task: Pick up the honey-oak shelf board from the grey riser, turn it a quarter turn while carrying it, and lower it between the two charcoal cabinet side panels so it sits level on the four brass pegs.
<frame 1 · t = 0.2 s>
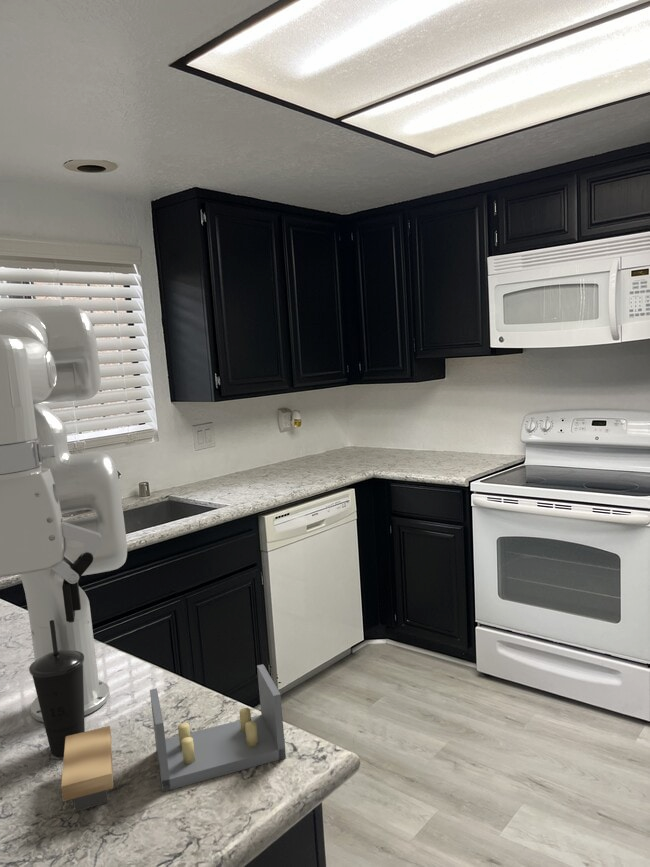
hand: (20, 627, 66), 31 cm above the countertop, fingers open, 9 cm apart
cabinet stand: (219, 754, 94), on the countertop
drinking cup: (68, 748, 98), on the countertop
shelf board: (89, 767, 88), point 3 cm above the countertop, touching riser
riser: (91, 788, 88), on the countertop
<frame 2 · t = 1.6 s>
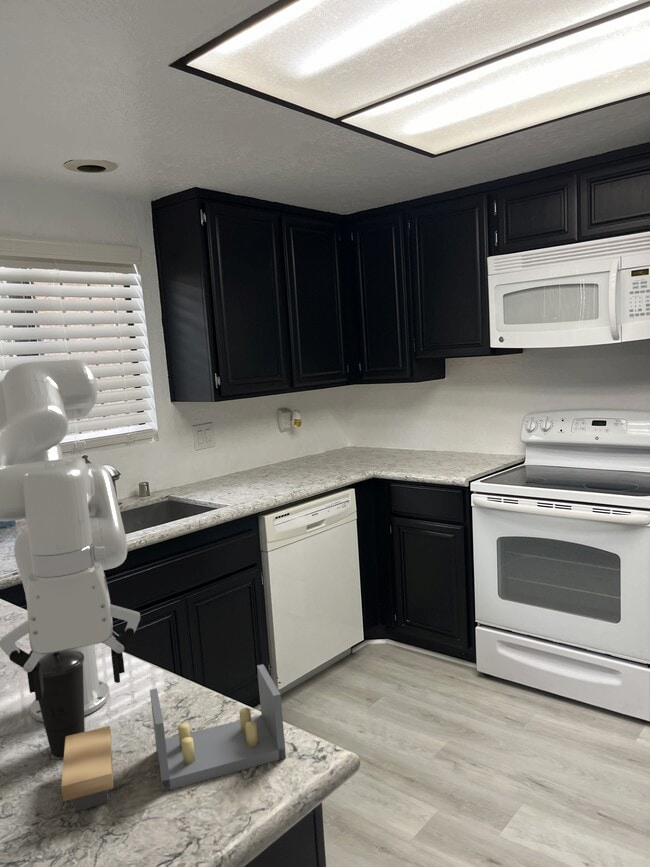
hand: (79, 687, 86), 15 cm above the countertop, fingers open, 9 cm apart
nothing on the countertop moved.
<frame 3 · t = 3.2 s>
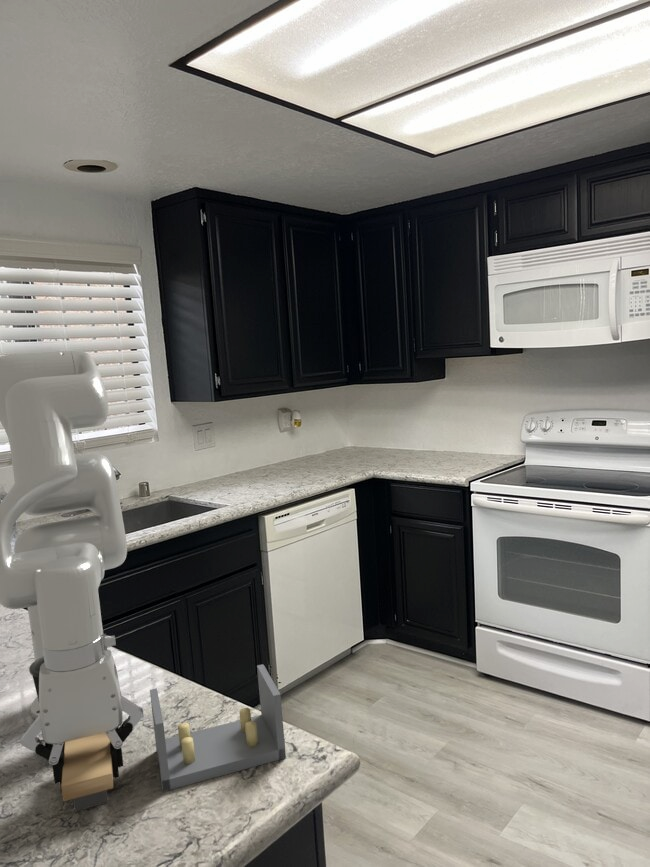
hand: (90, 777, 88), 2 cm above the countertop, fingers closed on shelf board, 6 cm apart
shelf board: (89, 767, 88), point 3 cm above the countertop, touching gripper, riser
everything else where it was.
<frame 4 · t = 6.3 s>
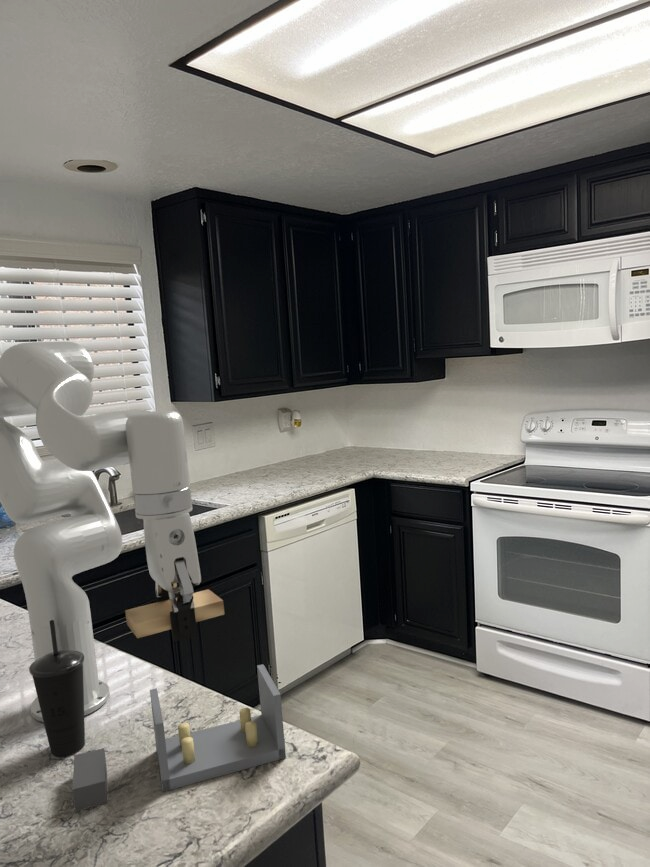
hand: (177, 628, 90), 20 cm above the countertop, fingers closed on shelf board, 6 cm apart
shelf board: (175, 619, 90), point 21 cm above the countertop, touching gripper
everything else where it was.
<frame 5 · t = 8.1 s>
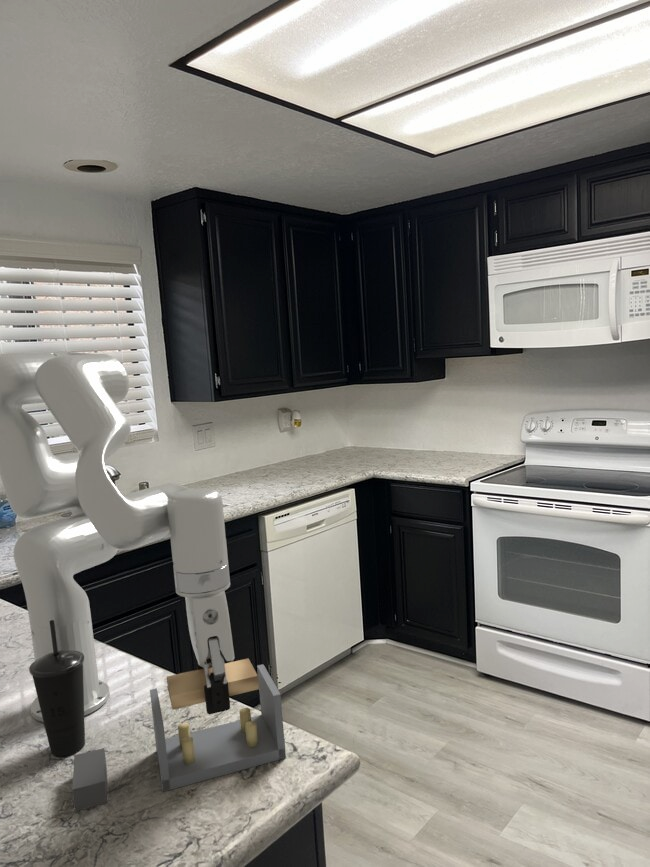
hand: (214, 698, 93), 8 cm above the countertop, fingers closed on shelf board, 6 cm apart
shelf board: (213, 689, 93), point 10 cm above the countertop, touching gripper
everything else where it was.
when the fingers open (4 cm above the countertop, at t = 9.5 s): shelf board stays where it is, resting on cabinet stand.
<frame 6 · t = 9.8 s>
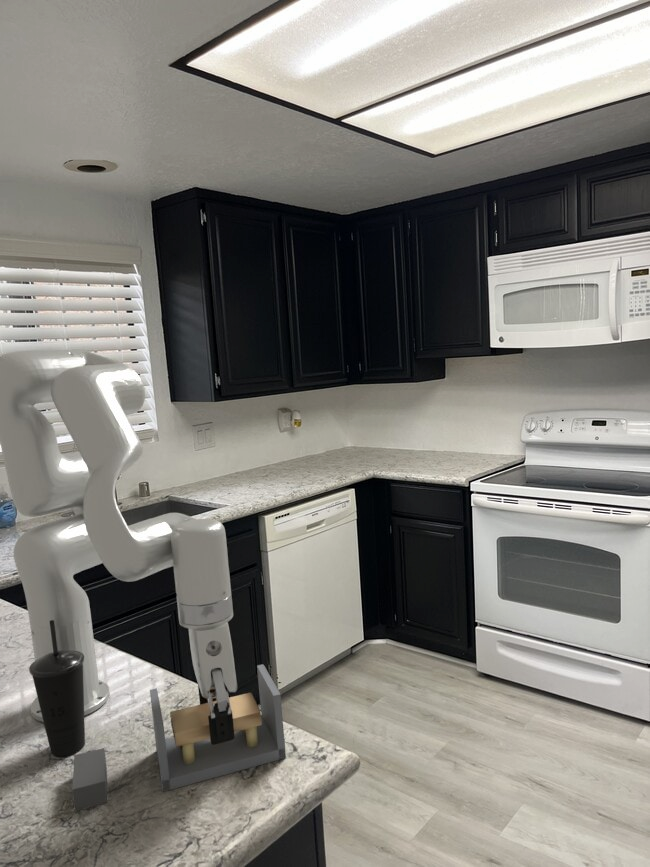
hand: (216, 723, 93), 5 cm above the countertop, fingers open, 9 cm apart
shelf board: (216, 724, 93), point 4 cm above the countertop, touching cabinet stand
everything else where it was.
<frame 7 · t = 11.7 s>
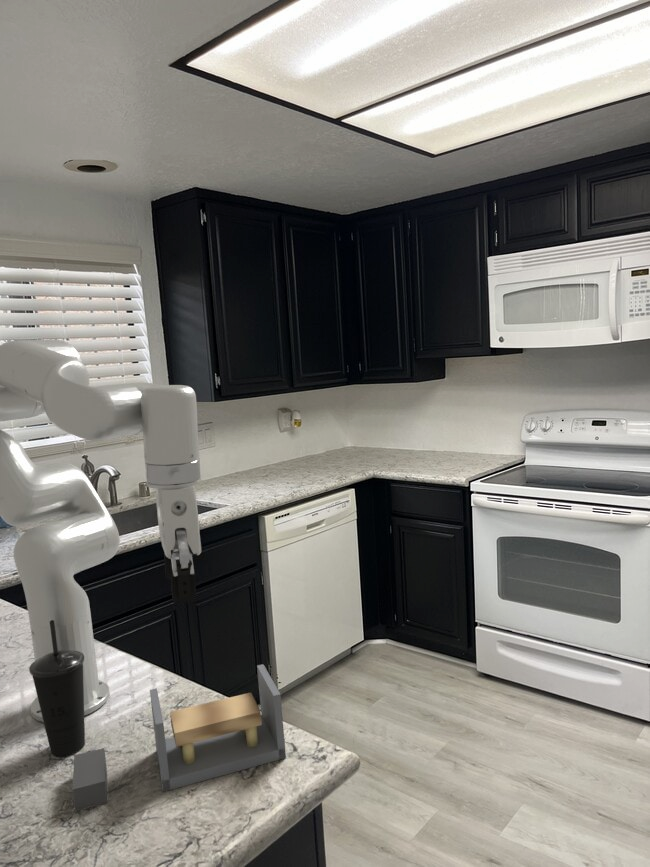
hand: (180, 589, 94), 24 cm above the countertop, fingers open, 9 cm apart
nothing on the countertop moved.
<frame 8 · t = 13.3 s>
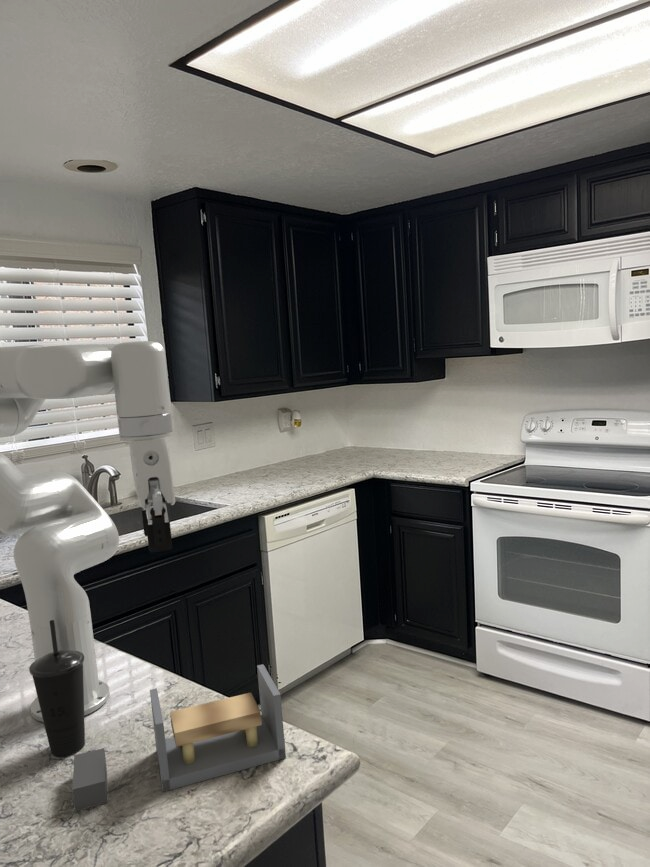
hand: (157, 542, 96), 30 cm above the countertop, fingers open, 9 cm apart
nothing on the countertop moved.
at the end: shelf board 0.1 cm off-centre on the cabinet stand, point 4.5 cm above the cabinet stand's base; shelf board tilted 0°; the gripper is holding nothing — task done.
